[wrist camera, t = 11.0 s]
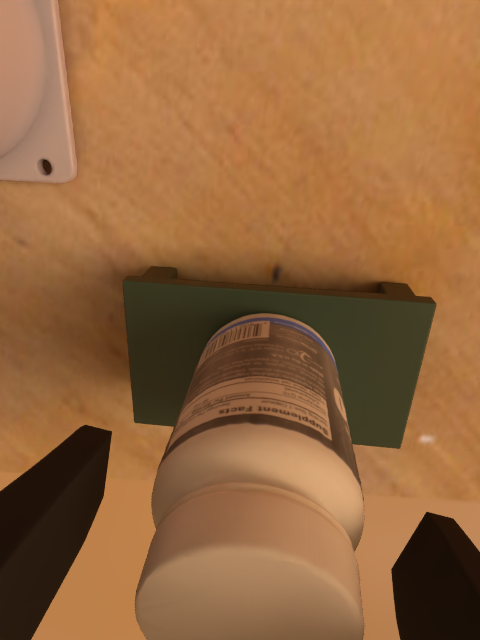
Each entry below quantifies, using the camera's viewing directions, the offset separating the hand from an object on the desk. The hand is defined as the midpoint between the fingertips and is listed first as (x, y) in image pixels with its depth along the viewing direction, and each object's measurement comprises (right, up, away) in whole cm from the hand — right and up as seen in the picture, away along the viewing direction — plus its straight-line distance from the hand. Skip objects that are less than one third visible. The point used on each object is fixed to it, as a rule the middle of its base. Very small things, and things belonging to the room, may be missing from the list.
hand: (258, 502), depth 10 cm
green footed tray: (+1, +3, +7) cm, 8 cm away
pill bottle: (+1, +2, +5) cm, 6 cm away
